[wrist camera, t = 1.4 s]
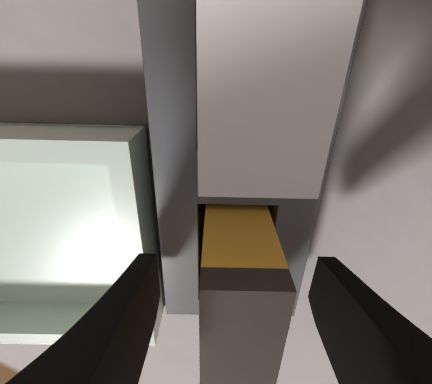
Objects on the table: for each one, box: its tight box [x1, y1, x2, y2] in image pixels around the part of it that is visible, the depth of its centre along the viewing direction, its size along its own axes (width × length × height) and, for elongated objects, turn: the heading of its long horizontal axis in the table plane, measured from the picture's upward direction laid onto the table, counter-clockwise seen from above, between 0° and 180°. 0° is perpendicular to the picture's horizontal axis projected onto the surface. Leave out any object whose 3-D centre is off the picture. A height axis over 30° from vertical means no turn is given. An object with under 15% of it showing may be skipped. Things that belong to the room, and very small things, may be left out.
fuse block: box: [137, 0, 367, 316], centre depth 10 cm, size 6×14×2 cm, turn 179°
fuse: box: [196, 0, 363, 199], centre depth 7 cm, size 2×4×6 cm, turn 179°
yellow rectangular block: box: [199, 204, 297, 384], centre depth 10 cm, size 2×4×6 cm, turn 179°
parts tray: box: [0, 122, 164, 346], centre depth 12 cm, size 11×11×2 cm
